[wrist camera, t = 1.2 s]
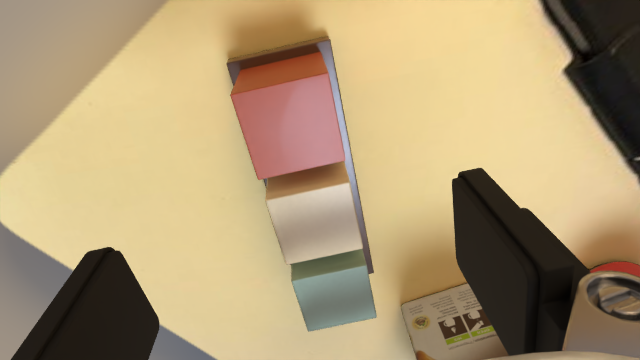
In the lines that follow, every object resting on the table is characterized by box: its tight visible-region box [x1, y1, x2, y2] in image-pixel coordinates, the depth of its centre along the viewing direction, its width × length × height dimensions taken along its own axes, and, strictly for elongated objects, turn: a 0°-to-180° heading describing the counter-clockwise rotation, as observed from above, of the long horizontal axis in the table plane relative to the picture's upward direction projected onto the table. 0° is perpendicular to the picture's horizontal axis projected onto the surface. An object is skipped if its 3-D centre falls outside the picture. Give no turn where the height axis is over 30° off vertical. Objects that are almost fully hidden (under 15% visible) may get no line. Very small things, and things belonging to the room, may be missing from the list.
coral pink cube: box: [230, 52, 346, 180], centre depth 20 cm, size 4×4×4 cm
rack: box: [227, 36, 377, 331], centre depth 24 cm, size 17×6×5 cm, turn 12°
